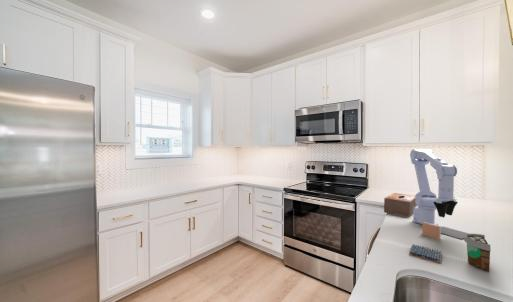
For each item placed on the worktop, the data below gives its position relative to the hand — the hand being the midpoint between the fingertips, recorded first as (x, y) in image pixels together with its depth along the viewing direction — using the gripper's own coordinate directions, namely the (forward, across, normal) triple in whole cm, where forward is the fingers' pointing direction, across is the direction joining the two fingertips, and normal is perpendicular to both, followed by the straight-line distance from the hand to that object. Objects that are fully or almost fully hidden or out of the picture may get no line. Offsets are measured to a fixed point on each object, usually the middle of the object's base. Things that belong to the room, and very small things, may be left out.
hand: (445, 215), depth 109 cm
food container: (+10, -24, -18) cm, 32 cm away
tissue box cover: (+10, +25, +35) cm, 44 cm away
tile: (+10, -8, +2) cm, 13 cm away
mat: (+10, +6, 0) cm, 12 cm away
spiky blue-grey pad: (+10, -32, -6) cm, 35 cm away
